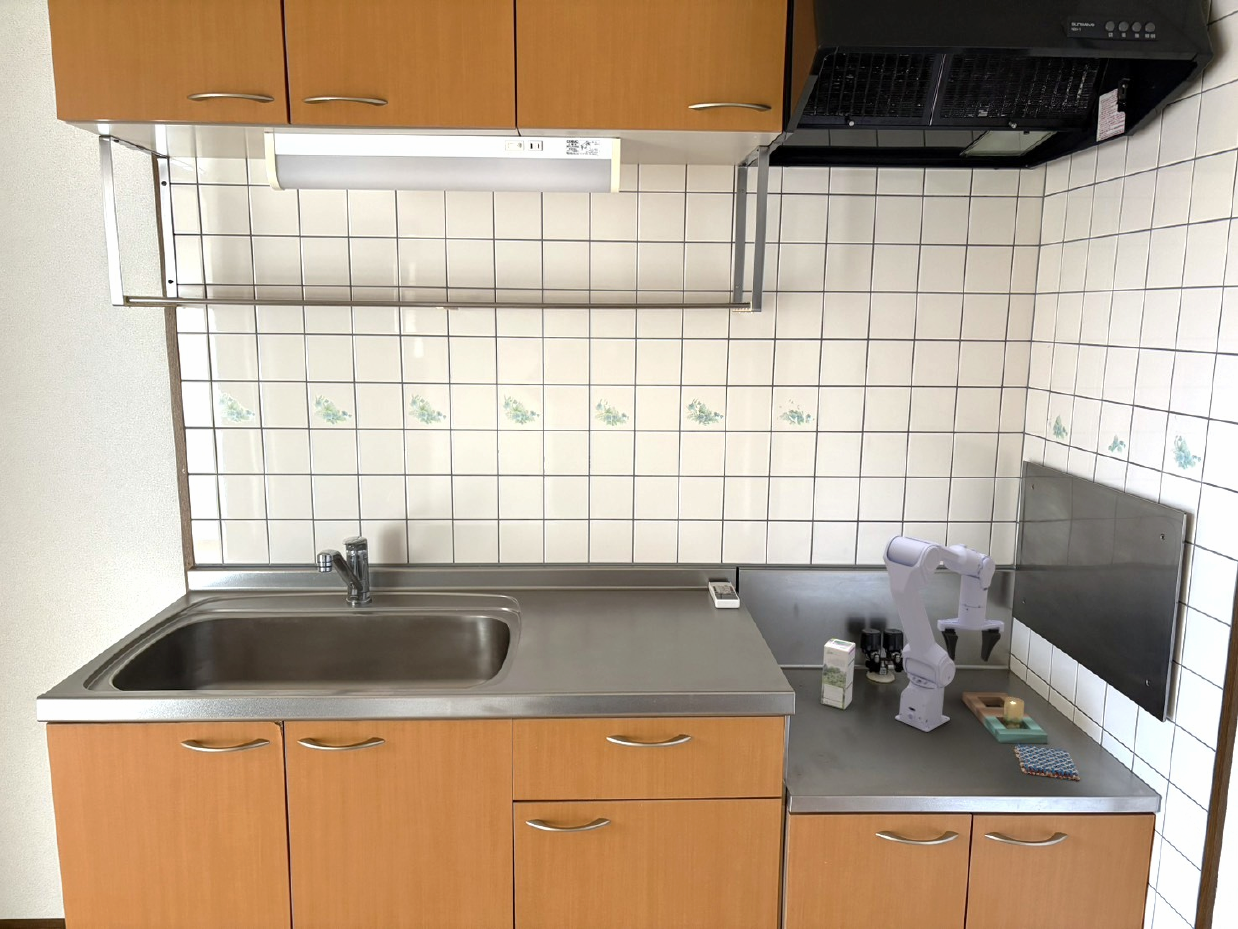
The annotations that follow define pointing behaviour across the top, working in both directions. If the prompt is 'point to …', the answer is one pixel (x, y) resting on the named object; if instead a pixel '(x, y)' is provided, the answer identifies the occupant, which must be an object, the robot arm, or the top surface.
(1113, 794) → the top surface
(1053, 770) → the woven mat
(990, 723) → the docking plate
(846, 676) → the syrup box
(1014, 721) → the brass pin
